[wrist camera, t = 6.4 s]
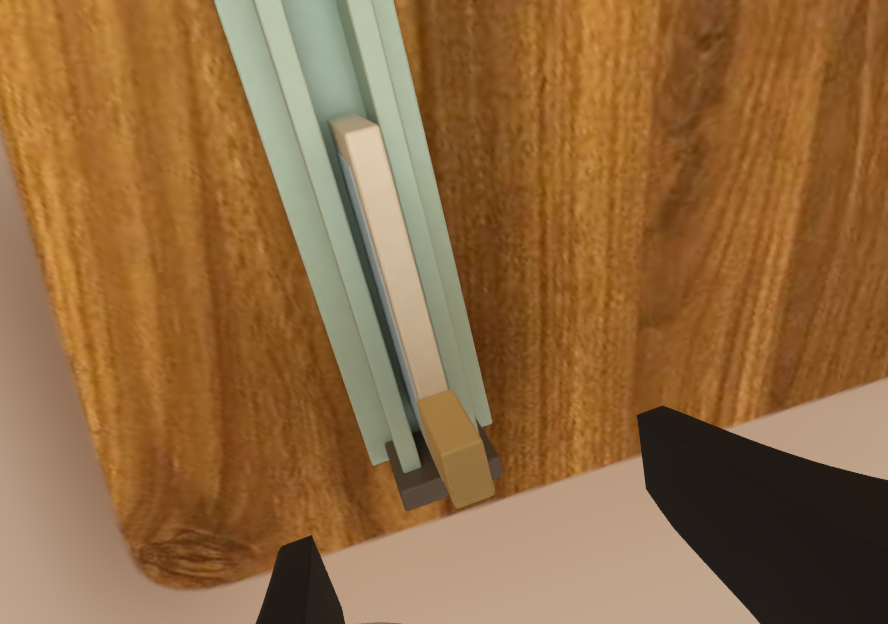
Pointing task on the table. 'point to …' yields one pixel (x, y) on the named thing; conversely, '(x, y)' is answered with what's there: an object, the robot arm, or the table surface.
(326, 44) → the green sliding track
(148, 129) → the table surface
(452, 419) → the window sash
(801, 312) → the table surface
